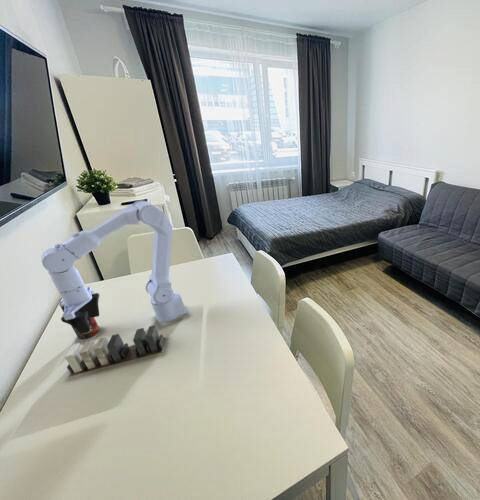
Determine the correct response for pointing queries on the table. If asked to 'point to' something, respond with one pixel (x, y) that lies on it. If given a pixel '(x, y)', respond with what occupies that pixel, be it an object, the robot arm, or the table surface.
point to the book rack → (119, 350)
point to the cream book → (75, 357)
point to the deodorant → (92, 323)
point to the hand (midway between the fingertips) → (90, 323)
